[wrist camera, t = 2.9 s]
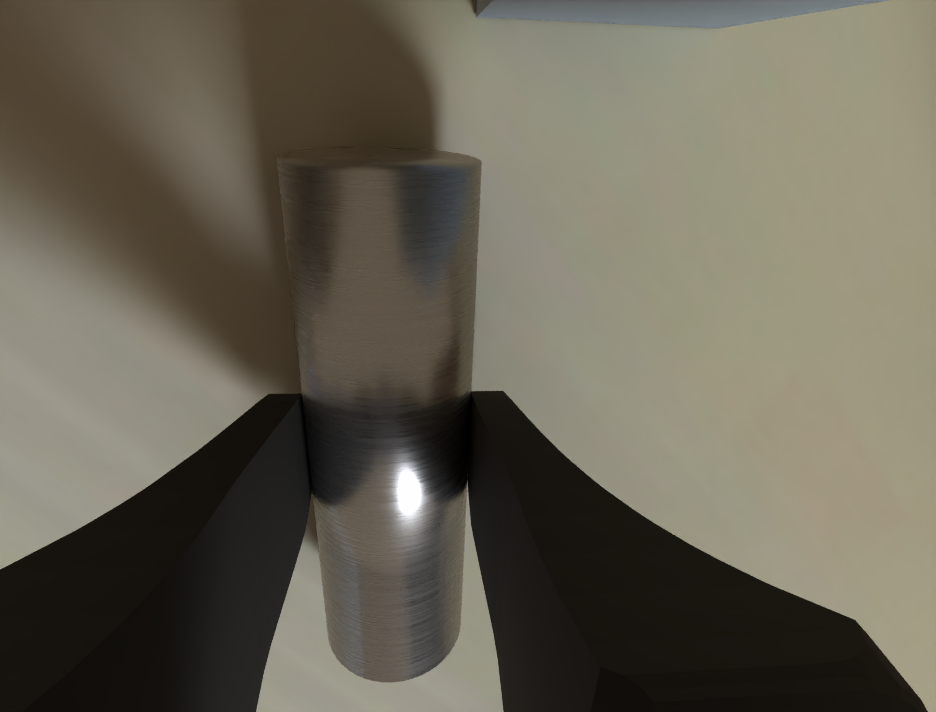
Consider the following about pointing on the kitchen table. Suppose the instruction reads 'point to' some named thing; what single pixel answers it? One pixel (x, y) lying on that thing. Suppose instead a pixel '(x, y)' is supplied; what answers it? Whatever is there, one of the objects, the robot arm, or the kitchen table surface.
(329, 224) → the roller
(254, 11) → the kitchen table surface
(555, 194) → the kitchen table surface
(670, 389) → the kitchen table surface
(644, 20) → the block
